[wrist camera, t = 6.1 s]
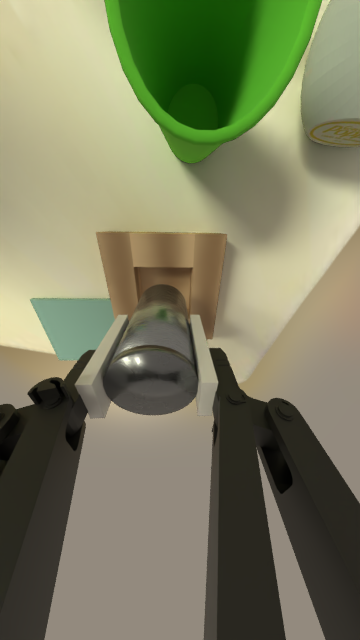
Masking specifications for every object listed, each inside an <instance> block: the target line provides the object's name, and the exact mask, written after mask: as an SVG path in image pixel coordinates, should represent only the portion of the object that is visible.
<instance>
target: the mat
mask: <svg viewBox="0 0 360 640" xmlns="http://www.w3.org/2000/svg"><path fill="white" fill-rule="evenodd" d="M30 301H31V303H32V305H33V307H34V309H35V311H36V313H37V315H38V317H39V320H40V322H41V324H42V326H43V328H44V330H45V332H46V334H47V336H48V338H49V340H50V342H51V344H52V346H53V348H54V350H55V352H56V355H57V357H58V359H59V360H79V358H80V357H81V355H83V354H84V353H85V352H87V351H88V350H97V348H98V346H99V345H100V343H101V342H102V340H103V338H104V337H105V335H106V334H107V332H108V330H109V329H110V327H111V326H112V324H113V322H114V321H115V318H114V314H113V309H112V304H111V300H110V299H60V298H33V299H31V300H30Z"/></svg>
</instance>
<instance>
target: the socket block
mask: <svg viewBox="0 0 360 640" xmlns="http://www.w3.org/2000/svg"><path fill="white" fill-rule="evenodd" d="M96 235H97V240H98V244H99V249H100V254H101V258H102V263H103V267H104V272H105V277H106V281H107V286H108V291H109V295H110V300H111V304H112V309H113V314H114V318H115V319H116V318H117V316H118V315H128V319H129V321H130V319H131V317H132V315H133V313H134V311H135V308H136V306H137V304H138V302H139V300H140V298H141V296H142V294H143V293H144V291H146V290H147V289H148V288H149V287H151V286H154V285H158V284H166V285H170V286H173V287H175V288H176V289H178V290H179V291H180V292H181V293H182V295H183V296H184V298H185V301H186V306H187V313H188V319H189V325H190V315H200V319H201V322H202V326H203V330H204V333H205V337H206V339H212V338H213V331H214V324H215V317H216V310H217V303H218V296H219V289H220V282H221V275H222V268H223V261H224V254H225V247H226V240H227V234H221V233H167V232H96Z"/></svg>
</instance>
